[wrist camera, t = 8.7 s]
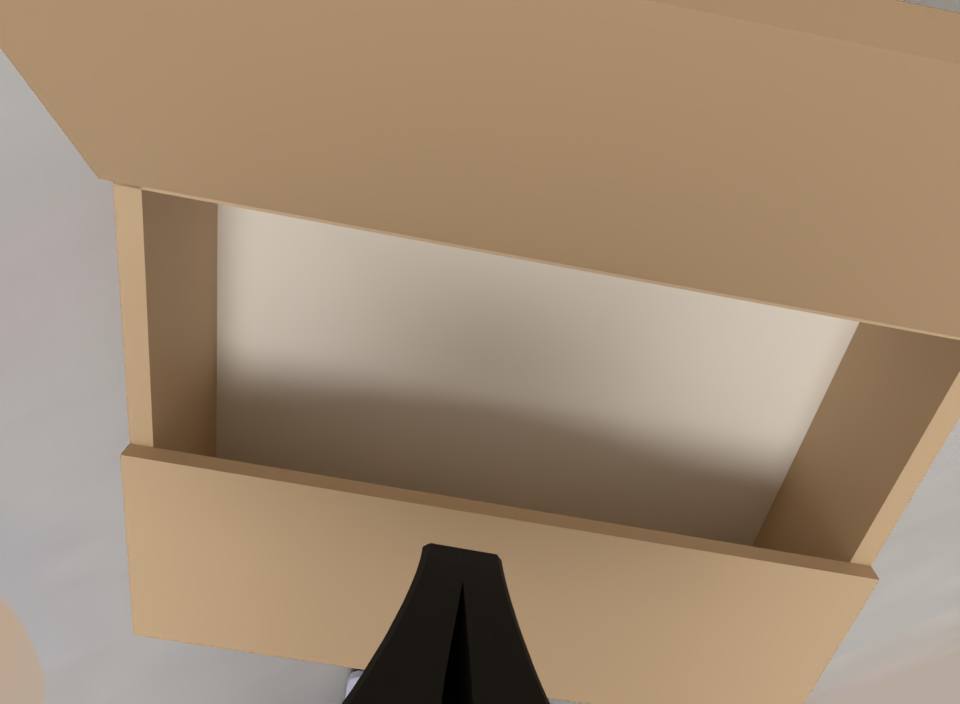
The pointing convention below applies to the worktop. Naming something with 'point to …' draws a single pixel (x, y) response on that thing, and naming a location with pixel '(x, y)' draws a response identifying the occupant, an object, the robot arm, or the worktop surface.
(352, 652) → the carton
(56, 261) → the worktop surface
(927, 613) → the worktop surface
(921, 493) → the worktop surface
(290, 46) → the flap
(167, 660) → the worktop surface
